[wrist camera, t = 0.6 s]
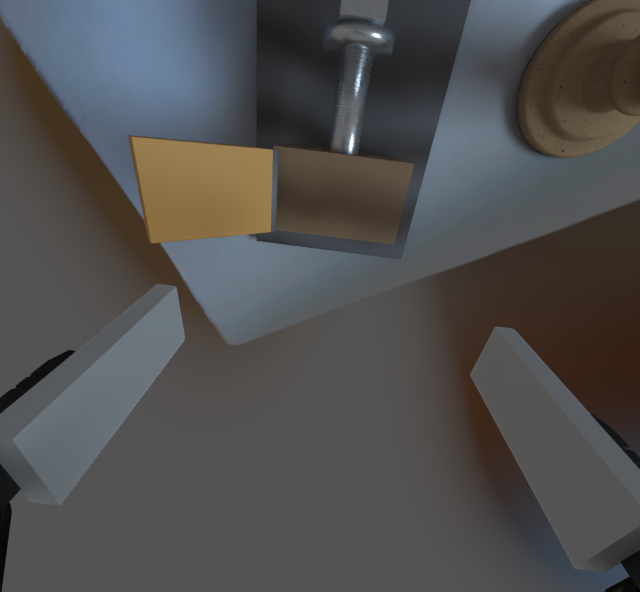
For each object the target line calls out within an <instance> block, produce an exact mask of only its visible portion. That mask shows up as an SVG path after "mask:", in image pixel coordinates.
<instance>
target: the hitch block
mask: <svg viewBox="0 0 640 592" xmlns="http://www.w3.org/2000/svg"><path fill="white" fill-rule="evenodd" d="M470 1H471V0H389V2H388V8H387V14H386V20H385V23H384V25H383V27H386V28H388V29H389V30H391V31H392V32H393V33H394V34H395V41H394V47H393V52H392V56H391V57H389V58H387V59H384V60H377V61H372V67H371V73H370V80H369V86H368V92H367V99H366V105H365V111H364V118H363V124H362V130H361V137H360V143H359V149H358V155H351V154H343V153H336V152H329V146H330V137H331V129H332V120H333V111H334V102H335V93H336V84H337V76H338V67H339V58H340V57H339V56H336V55H333V54H331V53H329V52H327V51H326V50H324V48H323V36H324V27H325V26H326V25H327V24H329V23H332V22H335V21H340V8H341V0H257V147H259V148H269V149H277V150H279V157H278V184H277V212H276V231H273V232H267V233H257V241H263V242H271V243H278V244H286V245H294V246H302V247H310V248H318V249H326V250H334V251H341V252H349V253H357V254H365V255H373V256H381V257H389V258H397V259H401V257H402V254H403V250H404V246H405V243H406V239H407V235H408V231H409V228H410V224H411V220H412V217H413V213H414V209H415V205H416V202H417V198H418V194H419V191H420V187H421V183H422V179H423V176H424V172H425V168H426V165H427V161H428V157H429V153H430V150H431V146H432V142H433V139H434V135H435V131H436V128H437V124H438V120H439V116H440V113H441V109H442V105H443V102H444V98H445V94H446V90H447V87H448V83H449V79H450V76H451V72H452V68H453V64H454V61H455V57H456V53H457V50H458V46H459V42H460V38H461V35H462V31H463V27H464V24H465V20H466V16H467V12H468V9H469V5H470Z"/></svg>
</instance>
